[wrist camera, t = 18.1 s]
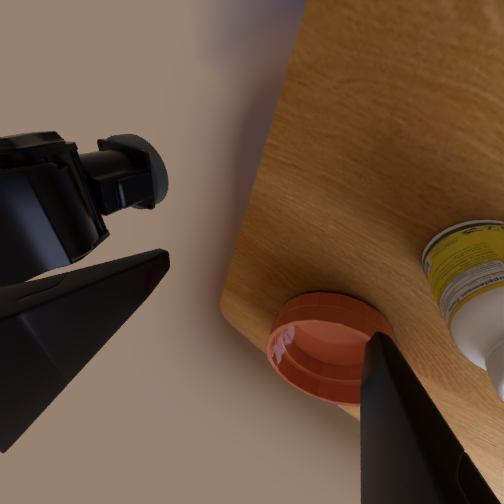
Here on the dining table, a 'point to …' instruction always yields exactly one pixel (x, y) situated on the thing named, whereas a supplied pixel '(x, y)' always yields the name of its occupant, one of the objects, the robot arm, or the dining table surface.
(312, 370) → the bowl
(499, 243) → the pill bottle
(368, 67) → the dining table surface
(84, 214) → the robot arm
